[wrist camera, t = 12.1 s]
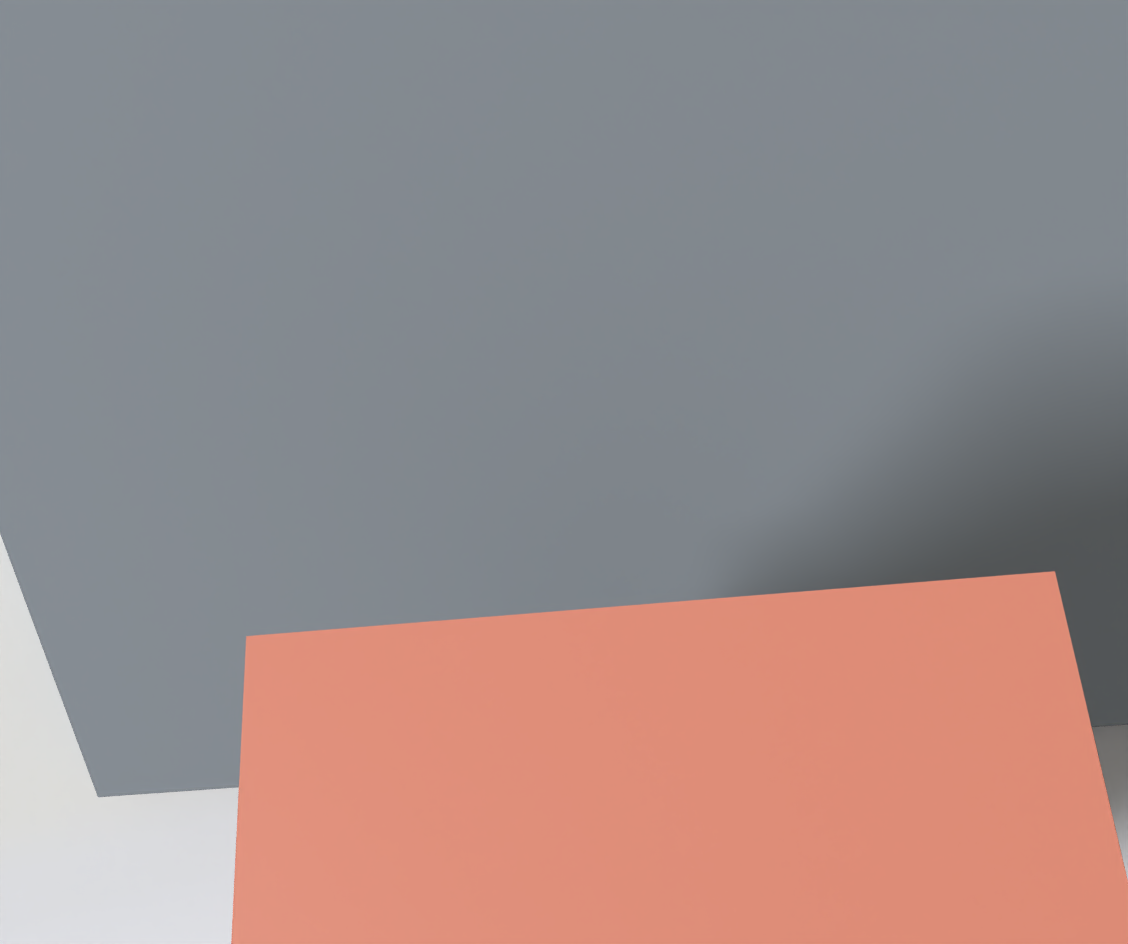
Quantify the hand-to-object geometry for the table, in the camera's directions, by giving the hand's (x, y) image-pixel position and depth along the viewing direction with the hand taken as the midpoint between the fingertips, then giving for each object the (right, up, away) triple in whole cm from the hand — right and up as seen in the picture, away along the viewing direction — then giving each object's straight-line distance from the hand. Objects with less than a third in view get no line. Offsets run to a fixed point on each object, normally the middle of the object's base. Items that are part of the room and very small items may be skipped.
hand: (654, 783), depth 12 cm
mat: (0, +5, +4) cm, 7 cm away
